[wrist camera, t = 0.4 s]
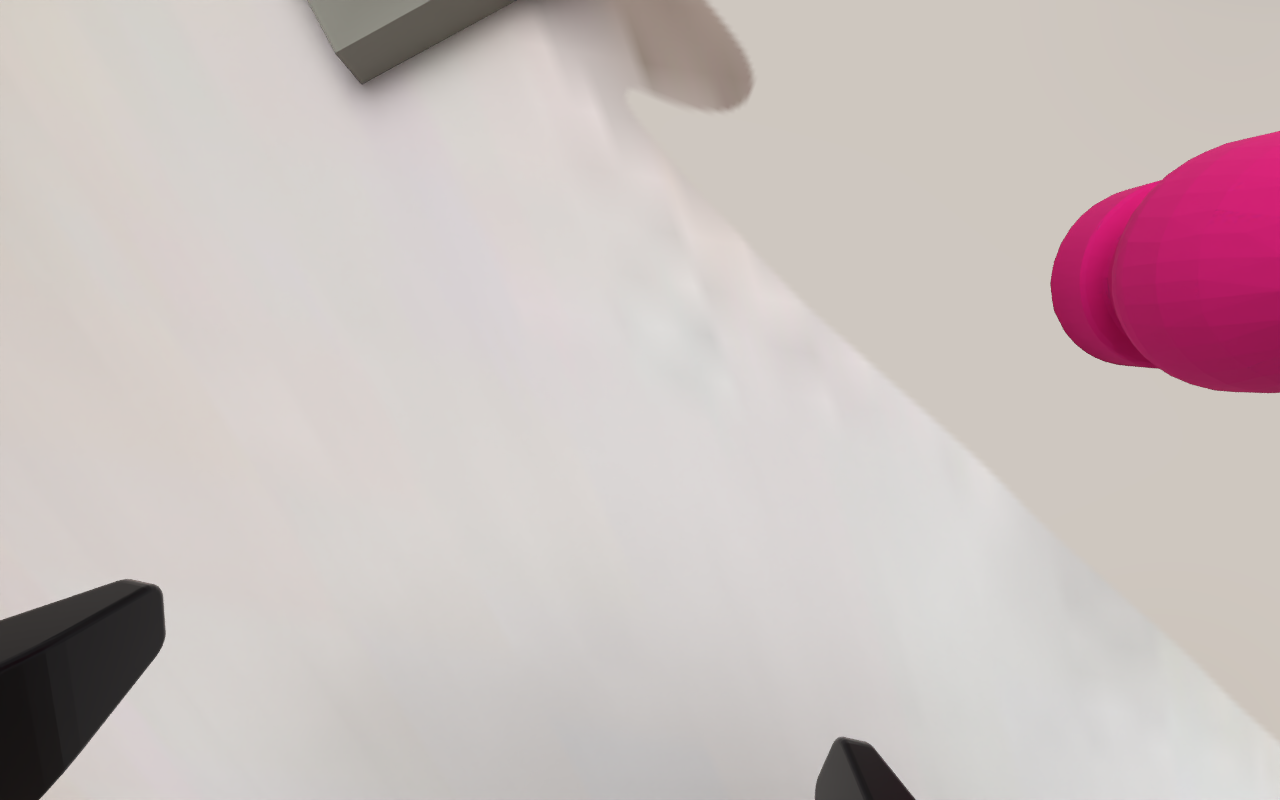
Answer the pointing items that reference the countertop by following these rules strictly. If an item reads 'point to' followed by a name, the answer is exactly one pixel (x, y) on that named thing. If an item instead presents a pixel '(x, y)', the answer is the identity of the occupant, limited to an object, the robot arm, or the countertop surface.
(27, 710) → the robot arm
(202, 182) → the countertop surface
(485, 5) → the soap mold
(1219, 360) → the pepper mill
